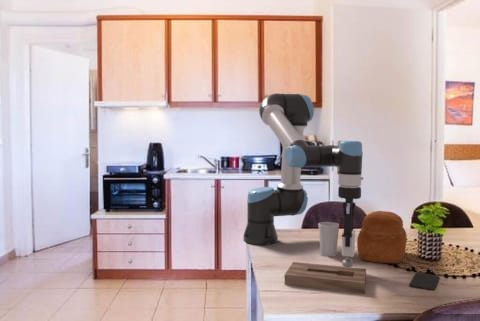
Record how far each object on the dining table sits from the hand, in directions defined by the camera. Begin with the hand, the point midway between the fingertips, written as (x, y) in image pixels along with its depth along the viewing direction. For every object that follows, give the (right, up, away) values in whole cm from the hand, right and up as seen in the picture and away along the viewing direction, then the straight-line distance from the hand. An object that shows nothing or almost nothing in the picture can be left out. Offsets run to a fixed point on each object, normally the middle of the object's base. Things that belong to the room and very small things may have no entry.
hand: (348, 253), depth 147 cm
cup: (-2, -5, +21) cm, 22 cm away
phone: (+22, -7, -10) cm, 25 cm away
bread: (+18, -5, +18) cm, 26 cm away
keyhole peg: (0, -4, 0) cm, 4 cm away
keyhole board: (-10, -7, -10) cm, 16 cm away
